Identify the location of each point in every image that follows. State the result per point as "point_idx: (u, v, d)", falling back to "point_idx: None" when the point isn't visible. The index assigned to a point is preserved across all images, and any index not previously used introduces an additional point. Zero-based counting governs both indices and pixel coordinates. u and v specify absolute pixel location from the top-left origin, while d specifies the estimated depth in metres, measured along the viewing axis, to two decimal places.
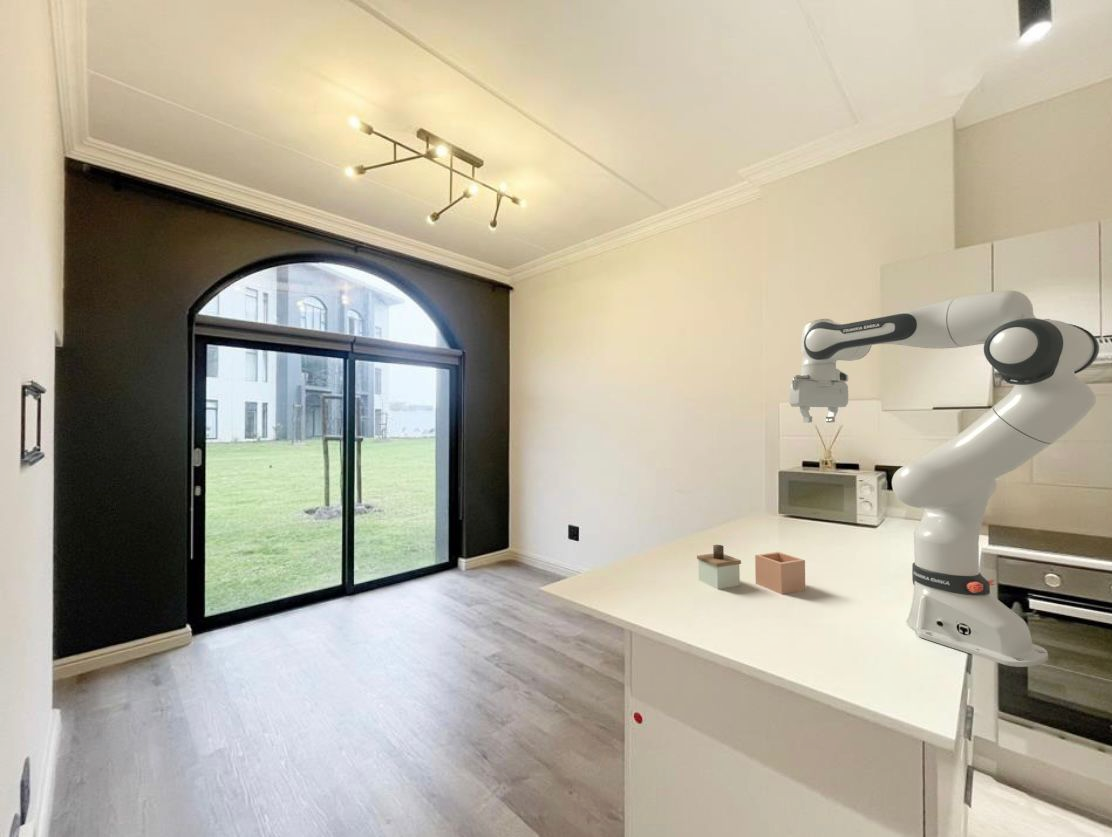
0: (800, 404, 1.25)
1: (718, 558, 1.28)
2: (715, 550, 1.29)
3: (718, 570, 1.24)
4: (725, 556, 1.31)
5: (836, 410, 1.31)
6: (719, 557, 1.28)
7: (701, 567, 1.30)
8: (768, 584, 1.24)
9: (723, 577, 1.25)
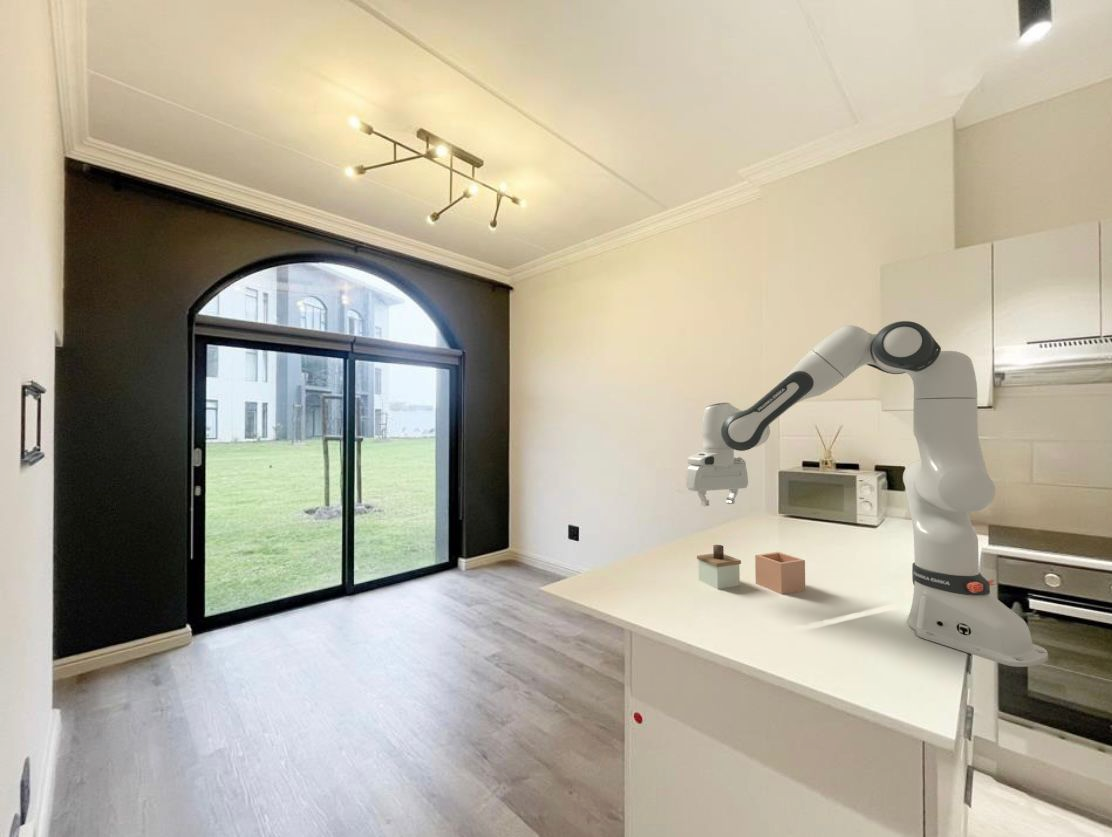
0: None
1: (718, 558, 1.28)
2: (715, 550, 1.29)
3: (718, 570, 1.24)
4: (725, 556, 1.31)
5: None
6: (719, 557, 1.28)
7: (701, 567, 1.30)
8: (768, 584, 1.24)
9: (723, 577, 1.25)
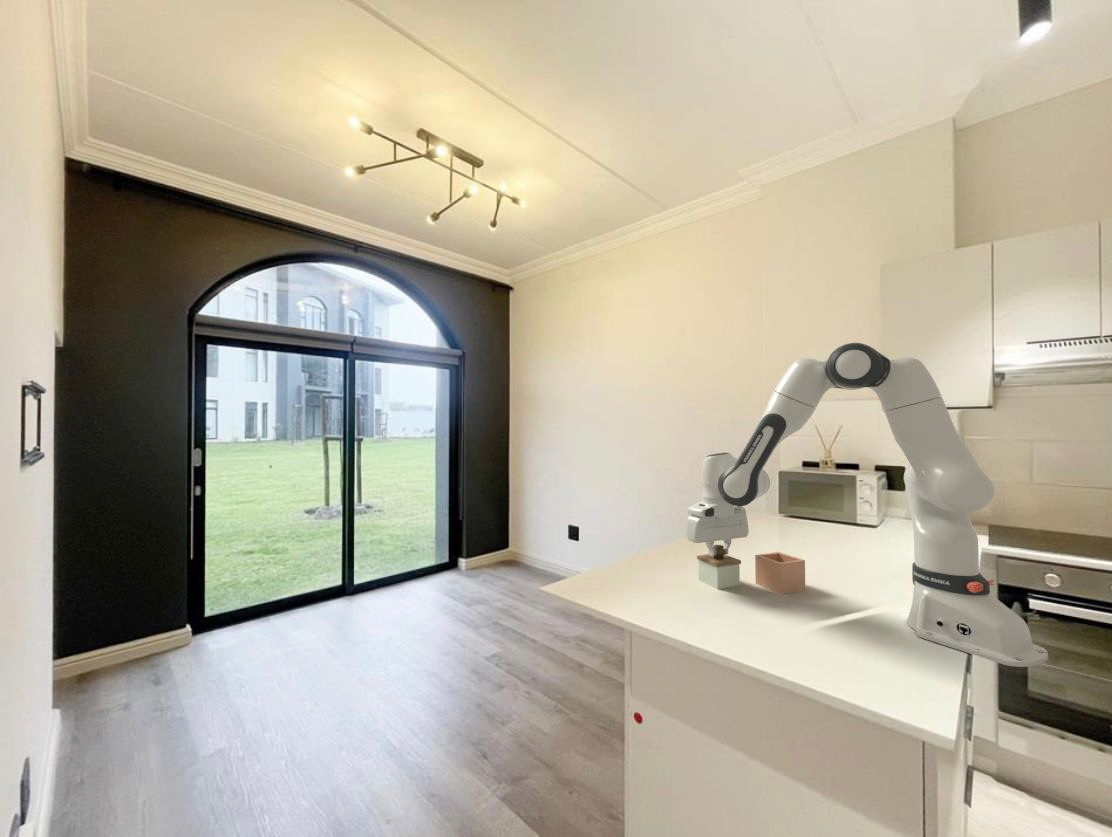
0: None
1: (718, 558, 1.28)
2: None
3: (718, 570, 1.24)
4: (725, 556, 1.31)
5: None
6: (719, 557, 1.28)
7: (701, 567, 1.30)
8: (768, 584, 1.24)
9: (723, 577, 1.25)
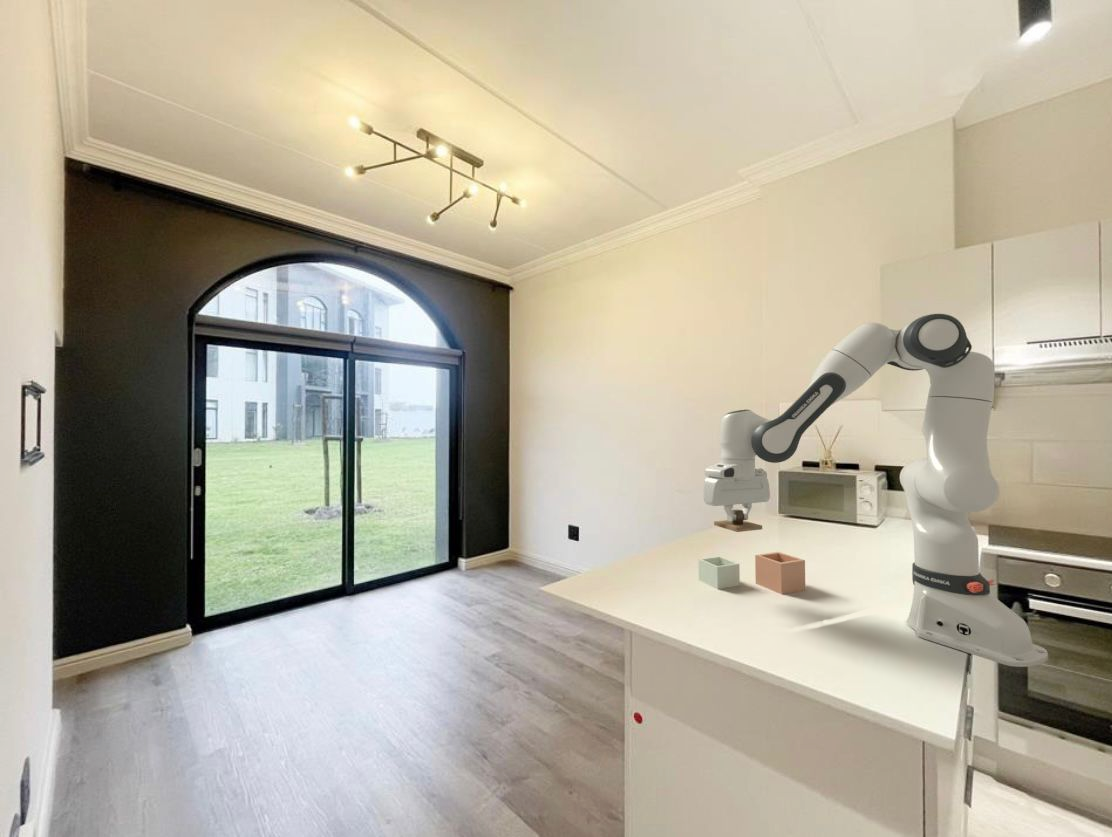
0: None
1: (737, 524, 1.18)
2: None
3: (718, 570, 1.24)
4: (744, 522, 1.21)
5: None
6: (738, 522, 1.18)
7: (701, 567, 1.30)
8: (768, 584, 1.24)
9: (723, 577, 1.25)
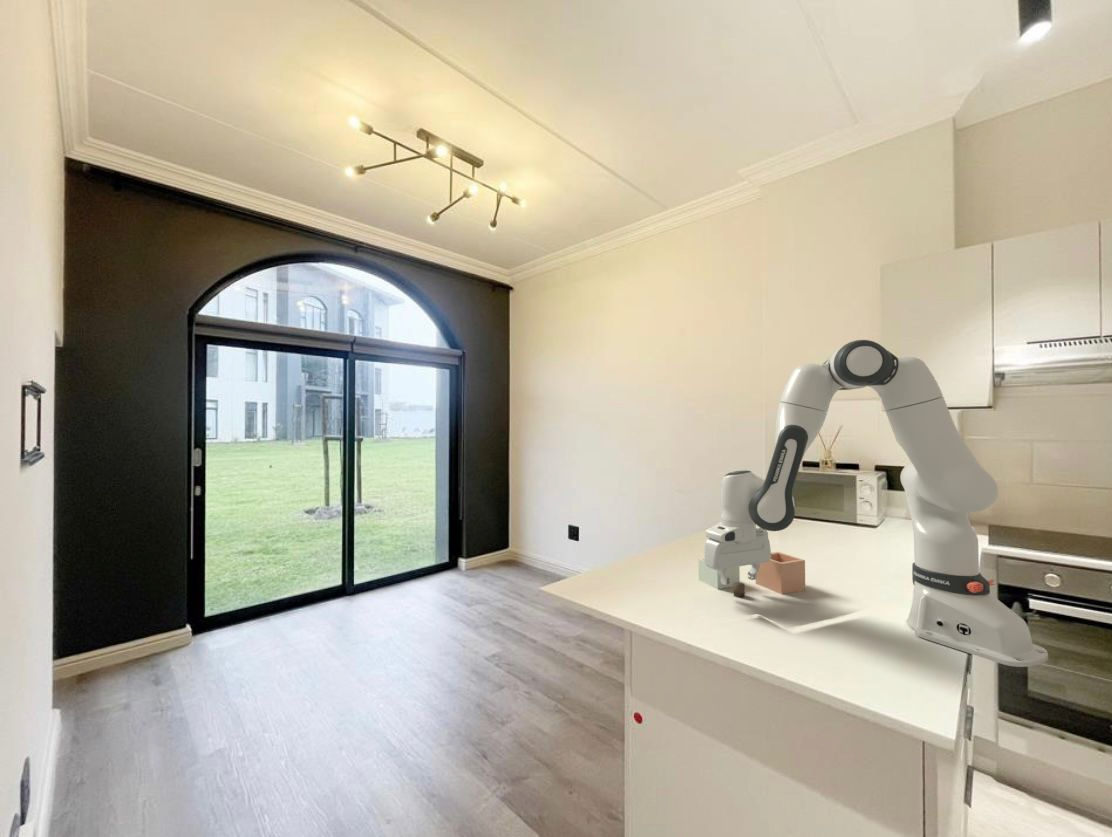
0: None
1: None
2: (736, 588, 1.18)
3: None
4: None
5: None
6: (740, 597, 1.18)
7: (701, 567, 1.30)
8: (768, 584, 1.24)
9: None
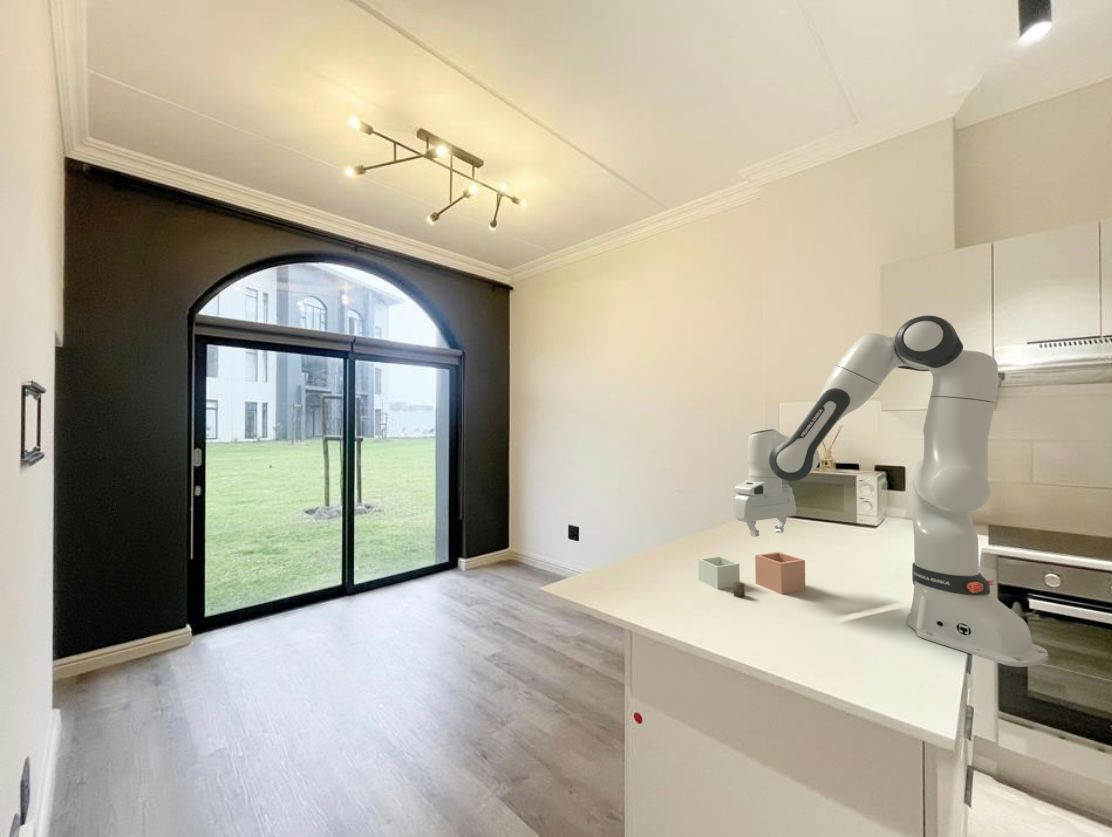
0: None
1: None
2: (735, 588, 1.18)
3: (718, 570, 1.24)
4: None
5: None
6: (740, 596, 1.18)
7: (701, 567, 1.30)
8: (768, 584, 1.24)
9: (723, 577, 1.25)
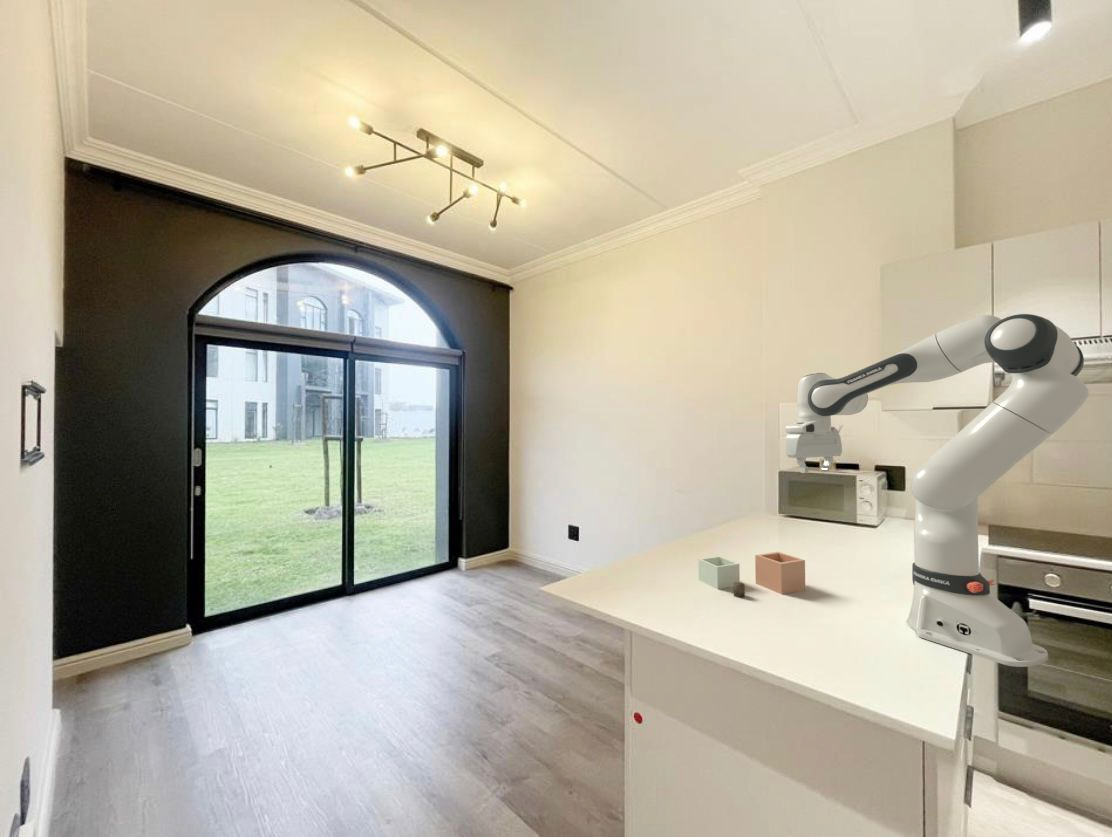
0: None
1: None
2: (735, 588, 1.18)
3: (718, 570, 1.24)
4: None
5: None
6: (740, 597, 1.18)
7: (701, 567, 1.30)
8: (768, 584, 1.24)
9: (723, 577, 1.25)
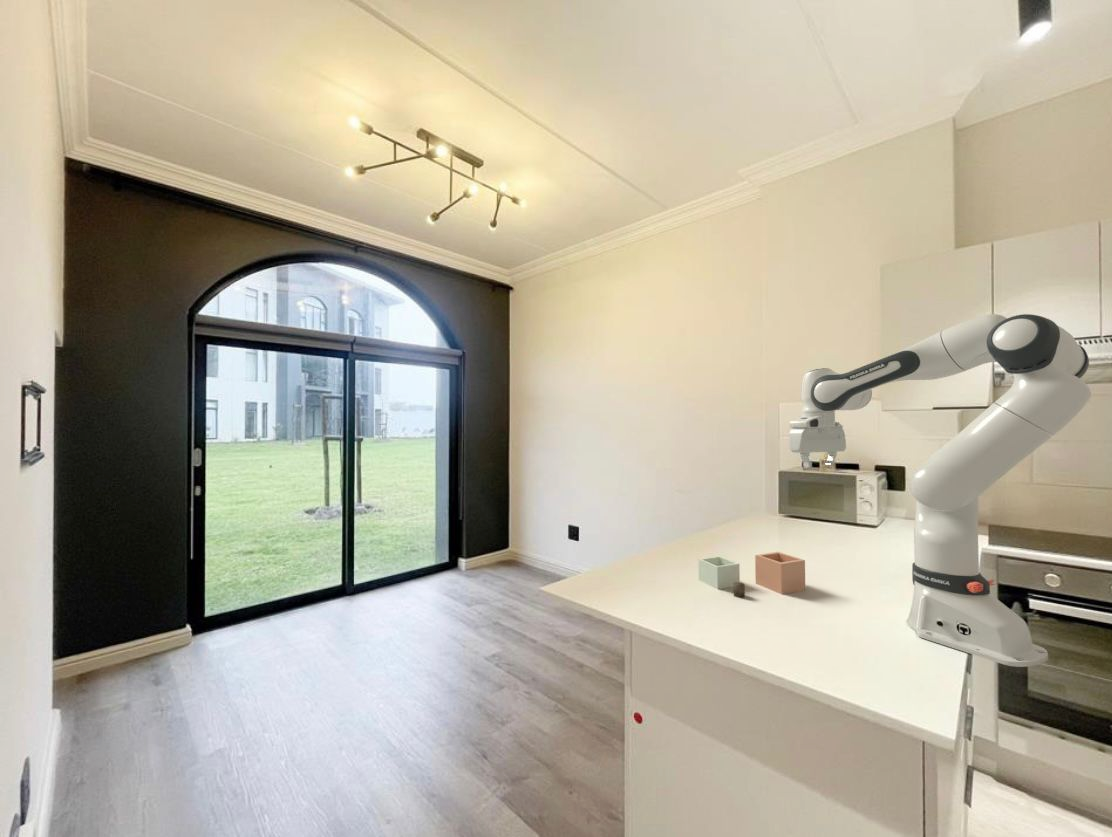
0: None
1: None
2: (735, 588, 1.18)
3: (718, 570, 1.24)
4: None
5: None
6: (740, 597, 1.18)
7: (701, 567, 1.30)
8: (768, 584, 1.24)
9: (723, 577, 1.25)
